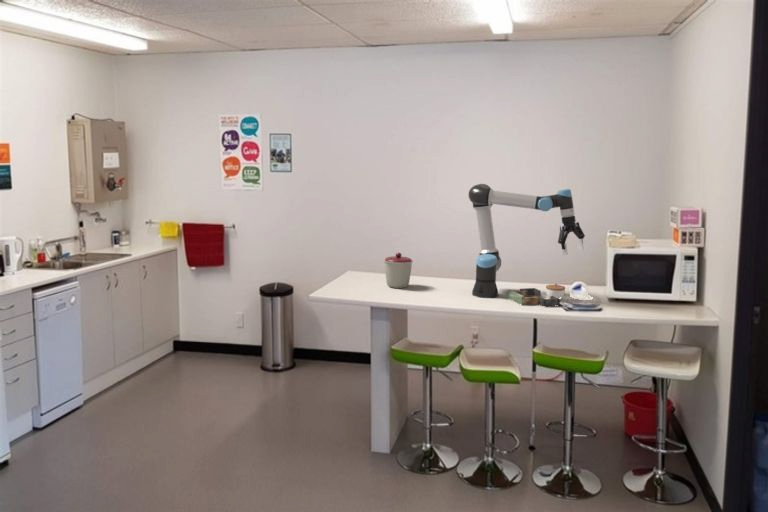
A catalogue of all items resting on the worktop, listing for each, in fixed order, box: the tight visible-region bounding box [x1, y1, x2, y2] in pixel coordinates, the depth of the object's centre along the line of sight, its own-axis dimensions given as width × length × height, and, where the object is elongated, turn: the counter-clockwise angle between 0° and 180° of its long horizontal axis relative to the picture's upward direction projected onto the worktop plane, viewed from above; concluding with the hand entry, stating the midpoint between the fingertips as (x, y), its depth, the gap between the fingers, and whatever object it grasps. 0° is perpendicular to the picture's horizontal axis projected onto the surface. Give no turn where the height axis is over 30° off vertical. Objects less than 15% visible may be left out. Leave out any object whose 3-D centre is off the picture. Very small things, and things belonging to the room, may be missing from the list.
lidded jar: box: [545, 283, 566, 299], centre depth 386 cm, size 11×11×9 cm
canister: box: [383, 252, 414, 289], centre depth 412 cm, size 18×18×21 cm
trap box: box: [507, 287, 561, 307], centre depth 382 cm, size 20×29×5 cm
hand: (573, 252), depth 388 cm, fingers open, 13 cm apart
